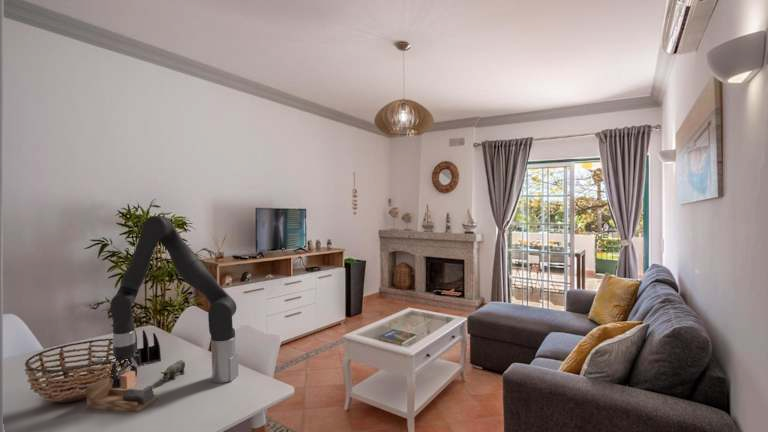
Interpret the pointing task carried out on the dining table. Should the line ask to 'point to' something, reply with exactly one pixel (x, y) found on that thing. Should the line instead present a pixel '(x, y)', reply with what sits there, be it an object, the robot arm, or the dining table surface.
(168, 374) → the rhino figurine
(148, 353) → the letter holder
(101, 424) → the dining table surface
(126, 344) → the robot arm
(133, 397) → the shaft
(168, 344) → the dining table surface
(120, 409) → the wooden tray
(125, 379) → the block
